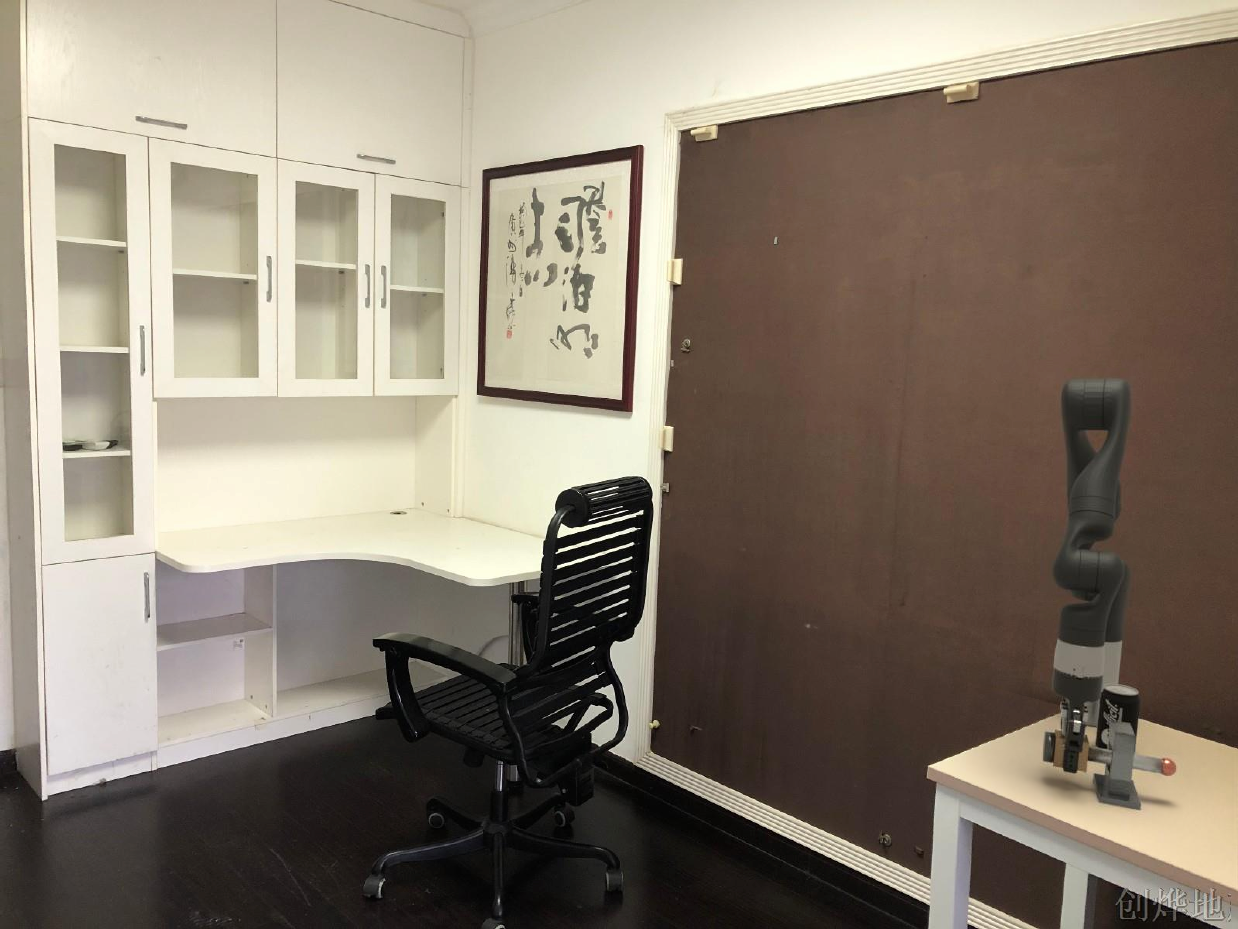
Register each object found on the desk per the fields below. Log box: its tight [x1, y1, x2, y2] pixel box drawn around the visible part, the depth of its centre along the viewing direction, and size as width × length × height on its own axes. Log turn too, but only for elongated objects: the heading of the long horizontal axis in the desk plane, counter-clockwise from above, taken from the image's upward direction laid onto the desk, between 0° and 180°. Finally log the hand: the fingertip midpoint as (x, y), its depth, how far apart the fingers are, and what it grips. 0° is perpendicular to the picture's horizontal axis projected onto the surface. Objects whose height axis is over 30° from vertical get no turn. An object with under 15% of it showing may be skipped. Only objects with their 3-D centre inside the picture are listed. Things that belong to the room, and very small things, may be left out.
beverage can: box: [1095, 683, 1141, 754], centre depth 178 cm, size 7×7×12 cm
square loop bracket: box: [1092, 720, 1142, 811], centre depth 160 cm, size 10×6×11 cm, turn 159°
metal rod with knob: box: [1042, 729, 1177, 777], centre depth 160 cm, size 20×5×5 cm, turn 69°
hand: (1068, 766), depth 163 cm, fingers closed on metal rod with knob, 4 cm apart
